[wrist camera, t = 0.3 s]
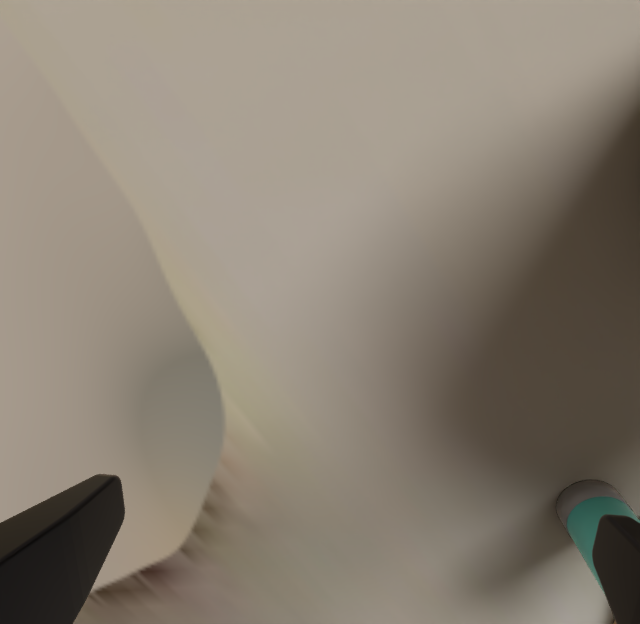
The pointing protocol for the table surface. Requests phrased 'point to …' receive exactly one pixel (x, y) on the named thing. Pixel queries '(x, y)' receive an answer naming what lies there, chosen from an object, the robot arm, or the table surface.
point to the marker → (589, 513)
